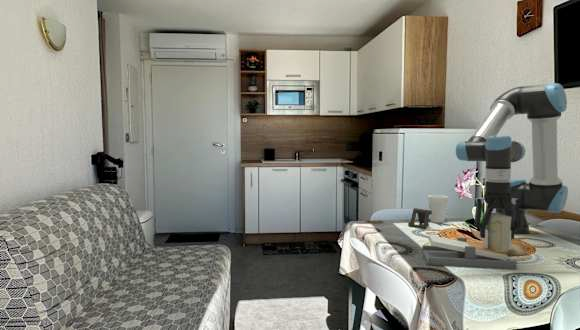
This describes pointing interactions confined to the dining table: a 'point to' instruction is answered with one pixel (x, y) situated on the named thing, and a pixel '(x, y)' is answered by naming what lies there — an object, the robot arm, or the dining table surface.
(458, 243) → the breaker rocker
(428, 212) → the portable electronic device stand
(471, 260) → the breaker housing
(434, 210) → the foam cup
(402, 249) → the dining table surface
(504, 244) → the skincare box
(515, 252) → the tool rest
